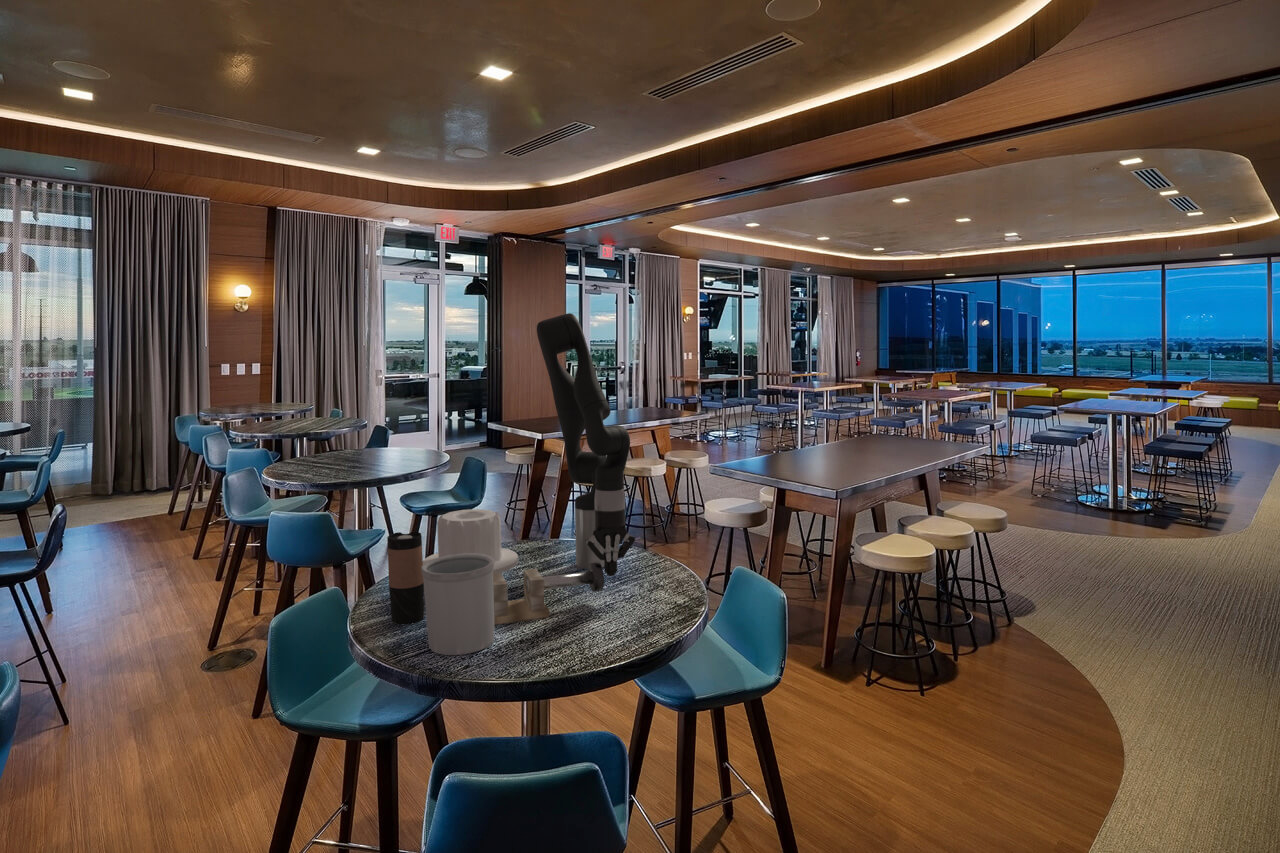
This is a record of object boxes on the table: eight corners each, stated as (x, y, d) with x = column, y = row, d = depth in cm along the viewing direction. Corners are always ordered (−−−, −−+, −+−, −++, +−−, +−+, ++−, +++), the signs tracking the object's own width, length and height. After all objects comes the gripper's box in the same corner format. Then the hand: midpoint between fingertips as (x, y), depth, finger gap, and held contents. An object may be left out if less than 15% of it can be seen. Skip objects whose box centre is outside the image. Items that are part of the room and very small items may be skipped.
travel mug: (405, 628, 155) (401, 541, 153) (383, 621, 159) (379, 536, 157) (432, 617, 161) (428, 533, 159) (410, 610, 165) (406, 529, 163)
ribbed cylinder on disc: (469, 607, 167) (466, 531, 165) (402, 589, 181) (399, 518, 179) (537, 579, 188) (536, 511, 186) (473, 564, 202) (471, 501, 200)
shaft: (595, 585, 173) (595, 558, 172) (604, 594, 167) (603, 566, 166) (524, 595, 167) (524, 567, 166) (530, 604, 160) (530, 575, 160)
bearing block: (539, 602, 170) (539, 567, 169) (549, 616, 161) (548, 579, 160) (486, 609, 165) (485, 573, 164) (493, 624, 156) (492, 586, 155)
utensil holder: (409, 651, 142) (406, 569, 141) (453, 625, 156) (450, 550, 154) (469, 662, 137) (466, 576, 135) (509, 633, 151) (507, 556, 149)
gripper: (629, 501, 175) (630, 567, 176) (579, 505, 170) (580, 573, 172) (640, 507, 168) (640, 576, 169) (588, 512, 163) (589, 583, 165)
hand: (610, 574), depth 171 cm, fingers closed
